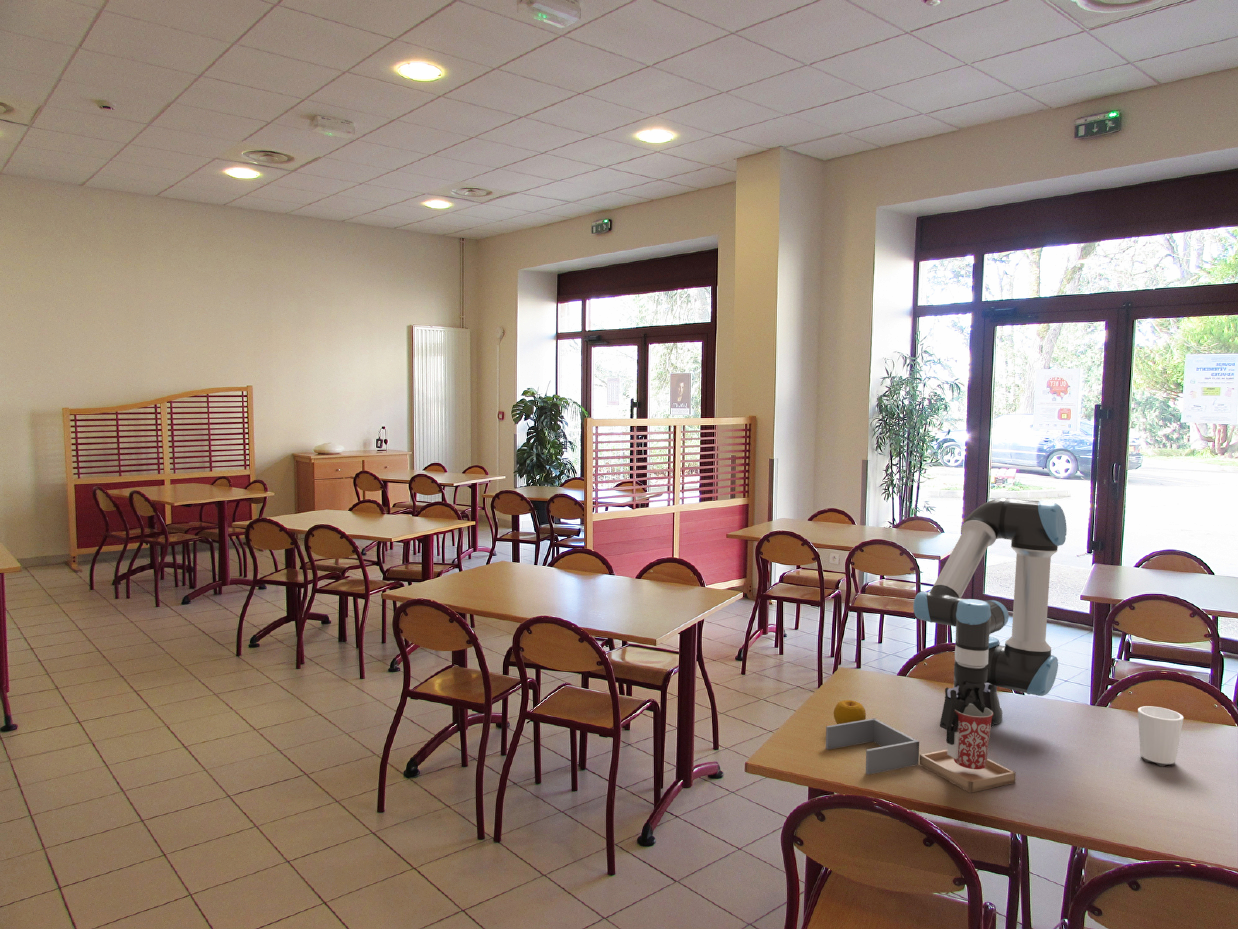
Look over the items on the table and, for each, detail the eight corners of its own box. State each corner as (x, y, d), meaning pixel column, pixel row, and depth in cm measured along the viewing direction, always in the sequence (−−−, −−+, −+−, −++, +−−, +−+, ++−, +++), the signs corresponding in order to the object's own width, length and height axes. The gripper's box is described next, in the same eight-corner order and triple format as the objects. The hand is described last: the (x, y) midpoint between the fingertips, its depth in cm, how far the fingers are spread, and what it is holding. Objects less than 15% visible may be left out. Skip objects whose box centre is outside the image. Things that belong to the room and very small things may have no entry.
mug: (994, 773, 194) (996, 718, 193) (953, 768, 196) (956, 714, 195) (984, 752, 206) (986, 700, 205) (945, 748, 208) (948, 696, 207)
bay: (873, 739, 221) (874, 718, 220) (918, 764, 205) (919, 741, 205) (825, 748, 215) (826, 726, 214) (867, 774, 199) (868, 751, 199)
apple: (831, 735, 223) (832, 703, 223) (835, 724, 231) (836, 694, 231) (863, 740, 220) (864, 708, 220) (866, 729, 228) (867, 698, 227)
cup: (1173, 756, 213) (1176, 709, 212) (1186, 772, 204) (1189, 722, 203) (1130, 750, 216) (1133, 704, 215) (1140, 765, 207) (1143, 717, 206)
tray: (962, 755, 211) (962, 746, 211) (1015, 782, 196) (1015, 772, 196) (919, 764, 206) (919, 754, 205) (970, 793, 191) (970, 782, 190)
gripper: (991, 655, 207) (987, 741, 208) (925, 663, 198) (922, 754, 200) (1015, 663, 200) (1011, 753, 201) (949, 673, 191) (945, 766, 193)
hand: (966, 753), depth 200 cm, fingers closed on mug, 9 cm apart
